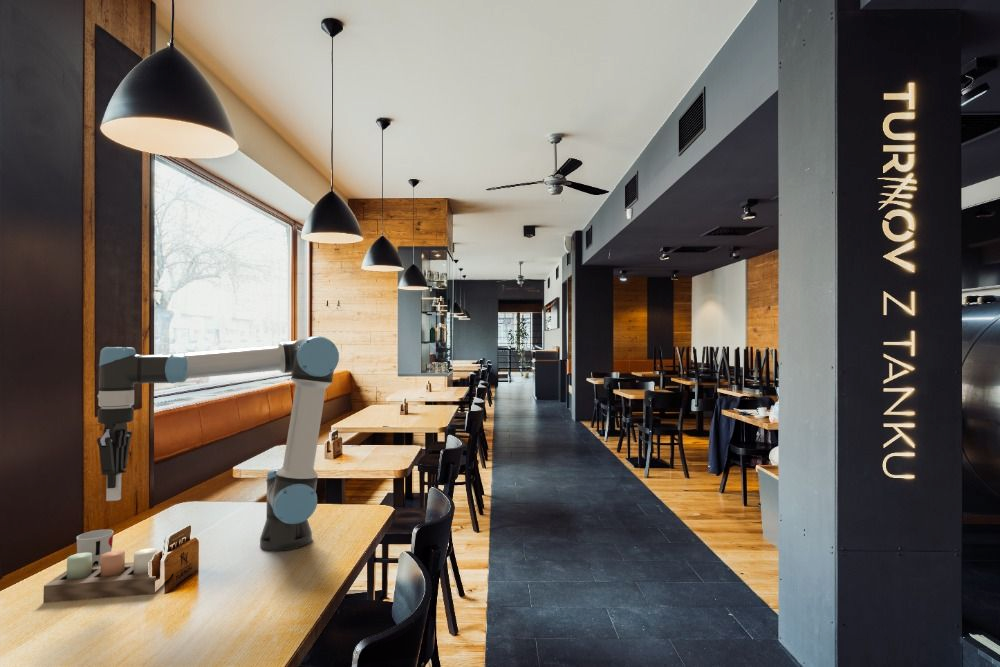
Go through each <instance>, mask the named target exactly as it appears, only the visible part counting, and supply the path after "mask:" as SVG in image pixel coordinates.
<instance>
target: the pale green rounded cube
mask: <svg viewBox="0 0 1000 667" xmlns="http://www.w3.org/2000/svg"><path fill="white" fill-rule="evenodd" d="M66 571H67V580H68V579H81V578H86V577H88V576H90V575H91V574H92V553H88V552H86V553H78V554H77V553H76V554H75V553H74V554H71V555H69V556H67V557H66Z"/></svg>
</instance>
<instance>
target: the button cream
mask: <svg viewBox="0 0 1000 667" xmlns="http://www.w3.org/2000/svg"><path fill="white" fill-rule="evenodd" d="M156 552H157V553H158V549H157V548H153V547H151V548H143V549H139V550H137V551H135V552H134V553H133V562H134V573H133V574H134V575H136V574H148V562H149V561H150V560H151V559H152V557H153V555H154V554H155V553H156Z"/></svg>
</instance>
